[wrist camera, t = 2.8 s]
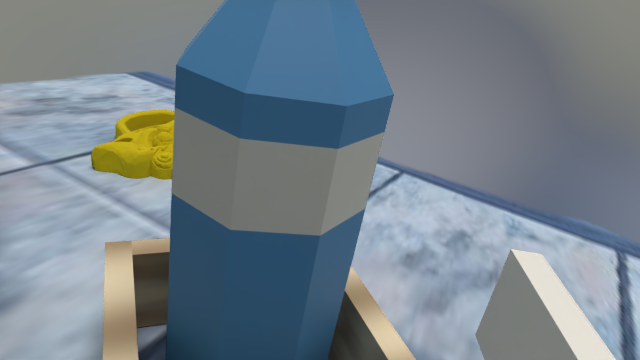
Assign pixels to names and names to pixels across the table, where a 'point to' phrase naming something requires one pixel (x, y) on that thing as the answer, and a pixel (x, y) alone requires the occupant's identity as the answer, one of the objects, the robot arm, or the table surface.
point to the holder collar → (152, 307)
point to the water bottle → (270, 177)
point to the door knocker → (139, 146)
